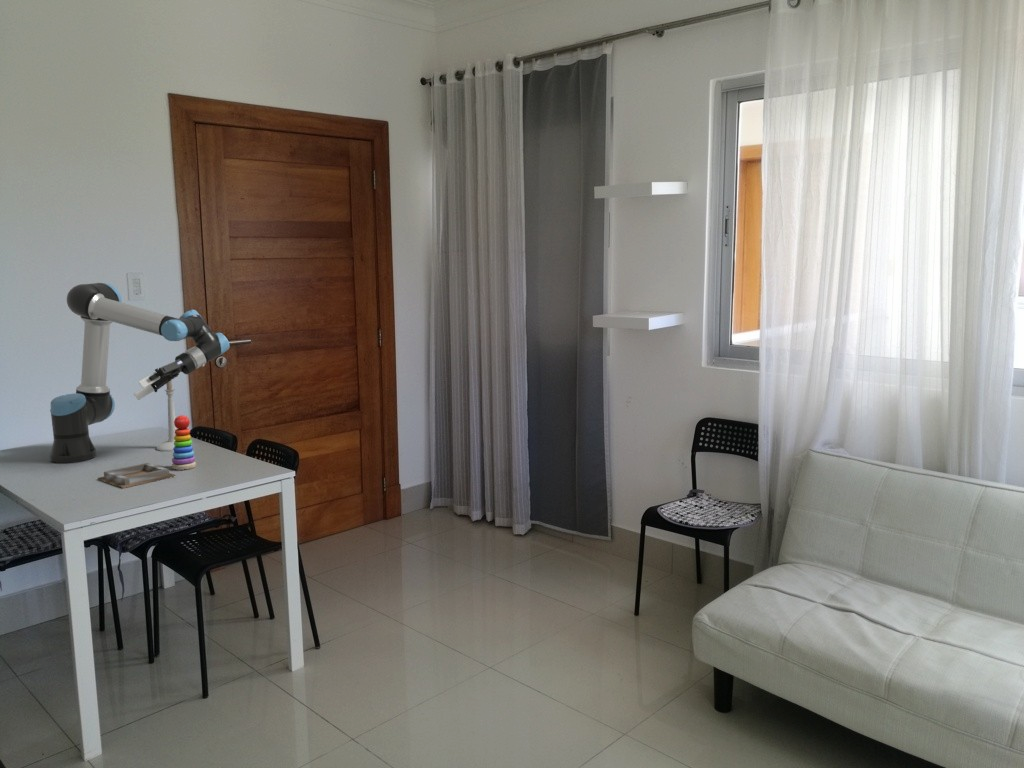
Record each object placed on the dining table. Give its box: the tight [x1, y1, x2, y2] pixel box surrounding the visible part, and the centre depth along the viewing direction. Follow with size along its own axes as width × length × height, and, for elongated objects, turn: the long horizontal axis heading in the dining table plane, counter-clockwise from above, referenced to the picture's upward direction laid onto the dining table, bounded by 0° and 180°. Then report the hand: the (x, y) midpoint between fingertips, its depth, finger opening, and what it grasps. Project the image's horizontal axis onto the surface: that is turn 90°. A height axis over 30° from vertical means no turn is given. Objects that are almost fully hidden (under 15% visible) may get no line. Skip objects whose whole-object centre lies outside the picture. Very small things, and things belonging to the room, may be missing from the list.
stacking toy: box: [171, 414, 197, 471], centre depth 293 cm, size 8×8×19 cm
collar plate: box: [97, 462, 177, 489], centre depth 281 cm, size 18×18×3 cm
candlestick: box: [156, 379, 193, 452], centre depth 323 cm, size 13×13×30 cm
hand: (138, 391), depth 294 cm, fingers open, 13 cm apart
